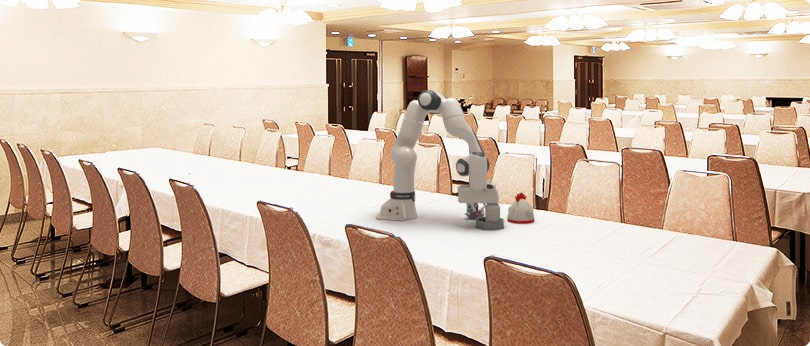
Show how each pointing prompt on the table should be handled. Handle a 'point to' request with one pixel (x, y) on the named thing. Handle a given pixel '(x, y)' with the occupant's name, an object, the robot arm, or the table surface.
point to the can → (492, 212)
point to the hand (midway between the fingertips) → (478, 211)
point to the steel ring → (489, 224)
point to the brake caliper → (474, 214)
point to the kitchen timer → (520, 211)
